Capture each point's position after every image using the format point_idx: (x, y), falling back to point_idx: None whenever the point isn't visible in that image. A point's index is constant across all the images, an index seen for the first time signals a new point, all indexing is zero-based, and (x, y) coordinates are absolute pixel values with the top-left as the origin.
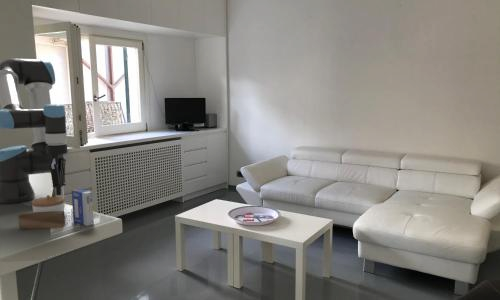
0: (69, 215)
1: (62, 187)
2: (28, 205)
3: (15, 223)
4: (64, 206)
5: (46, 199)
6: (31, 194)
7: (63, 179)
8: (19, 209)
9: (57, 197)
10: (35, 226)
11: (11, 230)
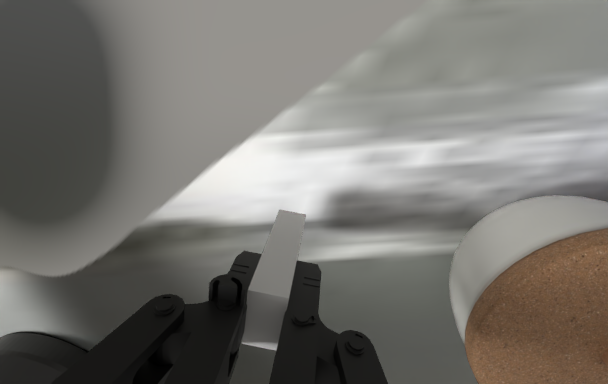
0: (456, 151)
1: (285, 292)
2: None
3: None
4: (597, 206)
5: (599, 367)
6: (40, 362)
7: (188, 345)
8: None
9: (571, 297)
10: None
11: None
